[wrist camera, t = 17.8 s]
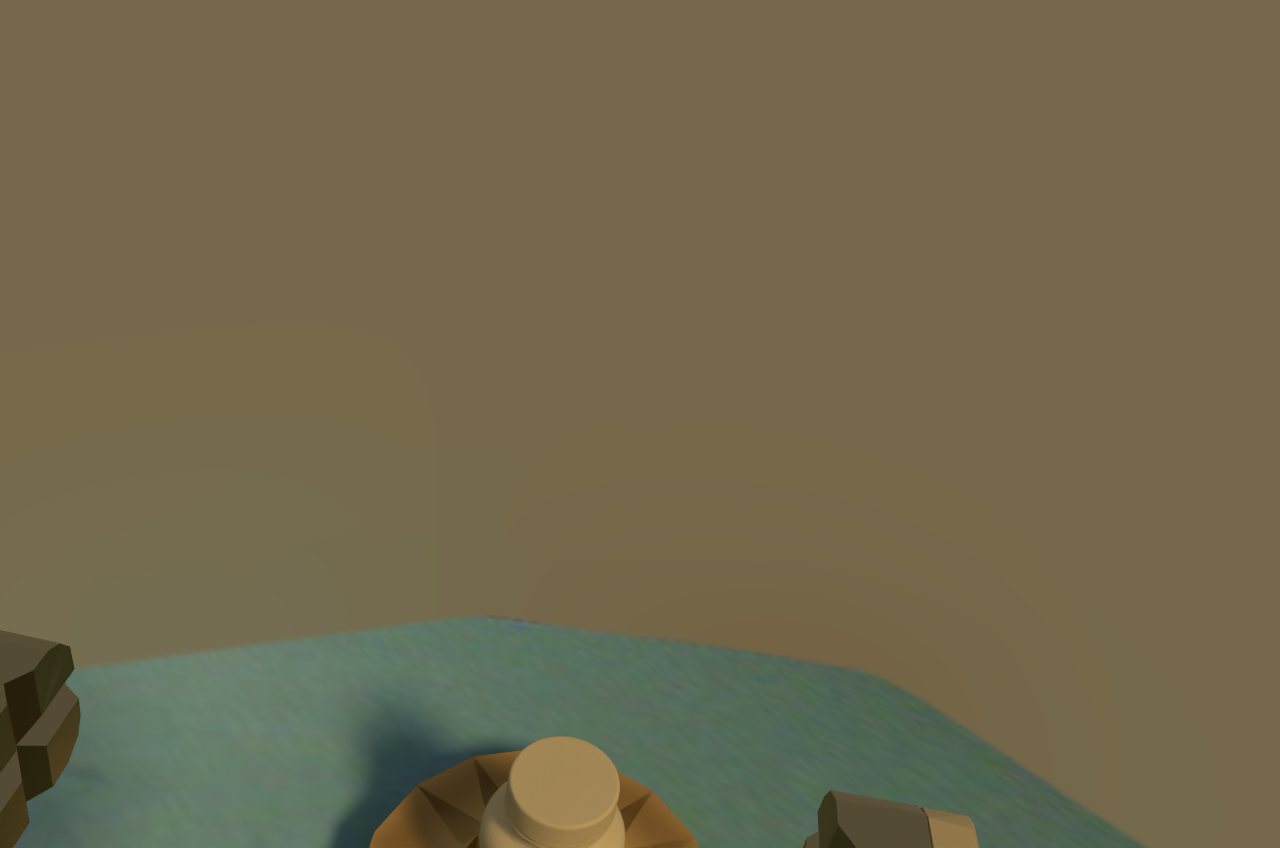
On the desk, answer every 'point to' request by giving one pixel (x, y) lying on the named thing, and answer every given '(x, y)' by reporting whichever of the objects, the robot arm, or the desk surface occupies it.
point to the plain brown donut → (456, 798)
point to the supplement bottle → (556, 799)
